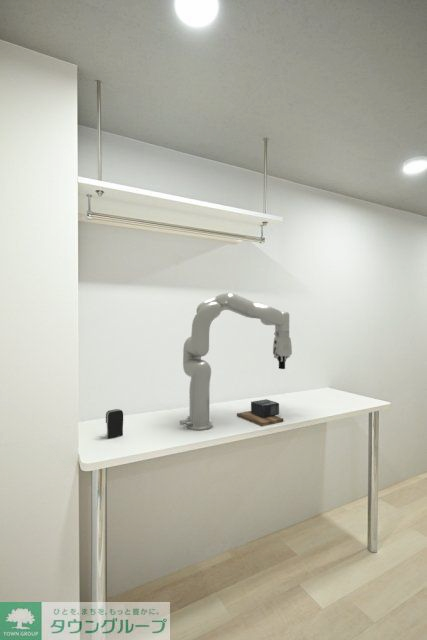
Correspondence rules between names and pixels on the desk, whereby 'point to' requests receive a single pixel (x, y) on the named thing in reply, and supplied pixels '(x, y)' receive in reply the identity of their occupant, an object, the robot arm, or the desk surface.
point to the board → (259, 418)
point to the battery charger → (114, 423)
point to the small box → (265, 408)
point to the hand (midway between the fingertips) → (281, 368)
